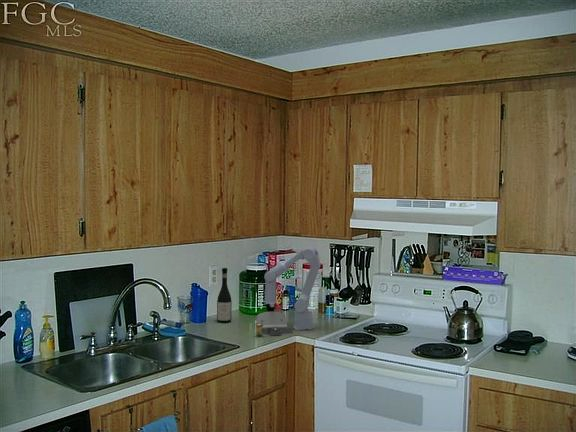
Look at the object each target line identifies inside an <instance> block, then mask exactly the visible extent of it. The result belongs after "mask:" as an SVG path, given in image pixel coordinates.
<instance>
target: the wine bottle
mask: <svg viewBox="0 0 576 432" xmlns="http://www.w3.org/2000/svg"><path fill="white" fill-rule="evenodd" d="M221 278H222V279H221V287H220V291H219V293H218V296H217V300H216V321H217V322H218V323H221V324H222V323H223V324H227V323H230V322H231V321H232V309H233V308H232V307H233V306H232V304H233V303H232V302H233V301H232V296H231V293H230V291H229V287H228V268H227V267H222V268H221Z"/></svg>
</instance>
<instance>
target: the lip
mask: <svg viewBox="0 0 576 432" xmlns="http://www.w3.org/2000/svg"><path fill="white" fill-rule="evenodd" d="M293 333H294V327H293V326H287V327H270V328H262V335H269V336H270V337H274V336H276V337H277V336H282V335H283V334H293Z"/></svg>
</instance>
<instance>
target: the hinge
mask: <svg viewBox="0 0 576 432" xmlns="http://www.w3.org/2000/svg"><path fill="white" fill-rule="evenodd" d="M256 323H263V326H262V328H270V327H288V324H287V319H286V315H285V313H282V312H279V311H274V312H267V311H265V312H261V313H258V314H257V315H256V322H255V324H256Z"/></svg>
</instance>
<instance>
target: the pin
mask: <svg viewBox="0 0 576 432" xmlns="http://www.w3.org/2000/svg"><path fill="white" fill-rule="evenodd" d="M254 326H255V330H256V331H255V337H257V338H261V337H263V334H262V326H263V323H256V322H255V325H254Z"/></svg>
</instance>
